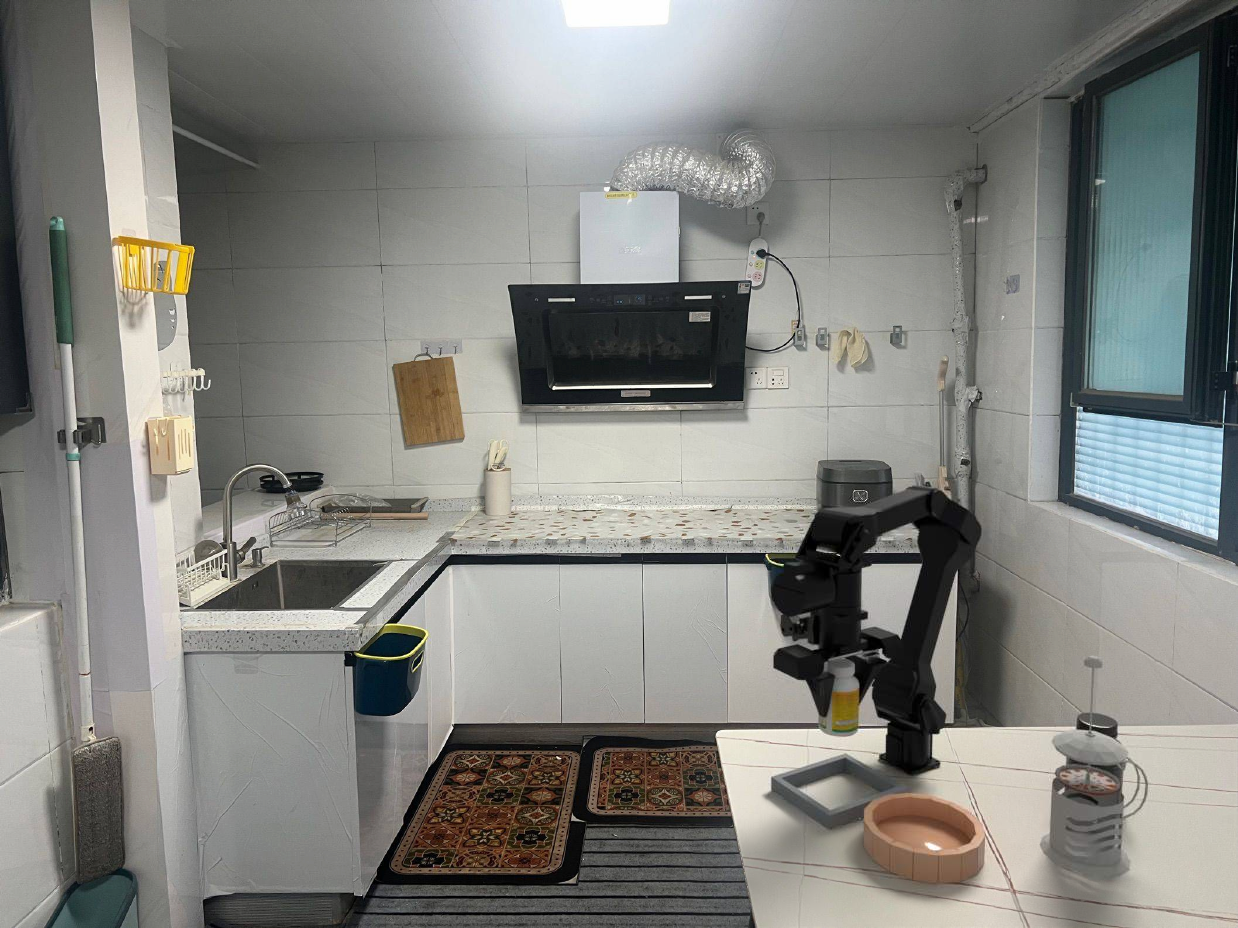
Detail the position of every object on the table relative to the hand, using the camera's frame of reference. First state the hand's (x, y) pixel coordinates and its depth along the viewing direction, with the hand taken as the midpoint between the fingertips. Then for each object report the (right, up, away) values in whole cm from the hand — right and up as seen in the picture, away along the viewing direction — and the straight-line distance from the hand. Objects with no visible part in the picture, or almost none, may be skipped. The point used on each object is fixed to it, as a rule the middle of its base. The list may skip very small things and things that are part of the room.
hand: (838, 711), depth 118 cm
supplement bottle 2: (+34, -12, -2) cm, 36 cm away
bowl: (+7, -14, -12) cm, 19 cm away
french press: (+28, -14, -13) cm, 33 cm away
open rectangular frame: (0, -12, +2) cm, 12 cm away
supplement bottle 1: (0, -3, 0) cm, 3 cm away
